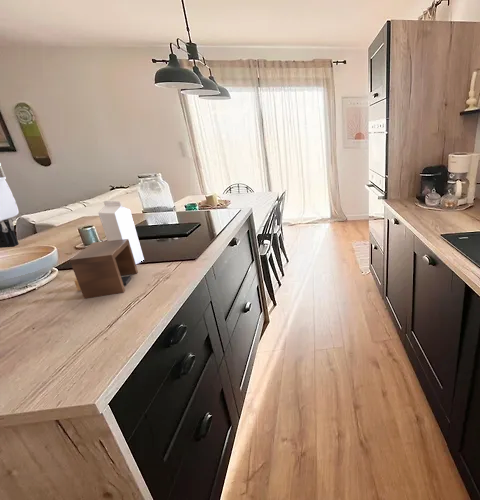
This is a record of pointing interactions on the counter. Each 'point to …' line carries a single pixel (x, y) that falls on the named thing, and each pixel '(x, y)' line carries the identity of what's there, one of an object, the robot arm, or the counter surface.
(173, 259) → the counter surface
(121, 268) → the stand
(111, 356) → the counter surface
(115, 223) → the milk
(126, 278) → the fish slice
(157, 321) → the counter surface
